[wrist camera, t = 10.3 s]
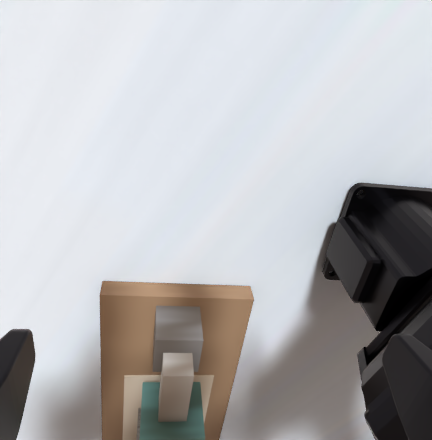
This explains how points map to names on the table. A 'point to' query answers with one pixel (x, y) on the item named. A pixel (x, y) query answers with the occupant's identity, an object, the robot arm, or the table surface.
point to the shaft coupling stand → (169, 357)
